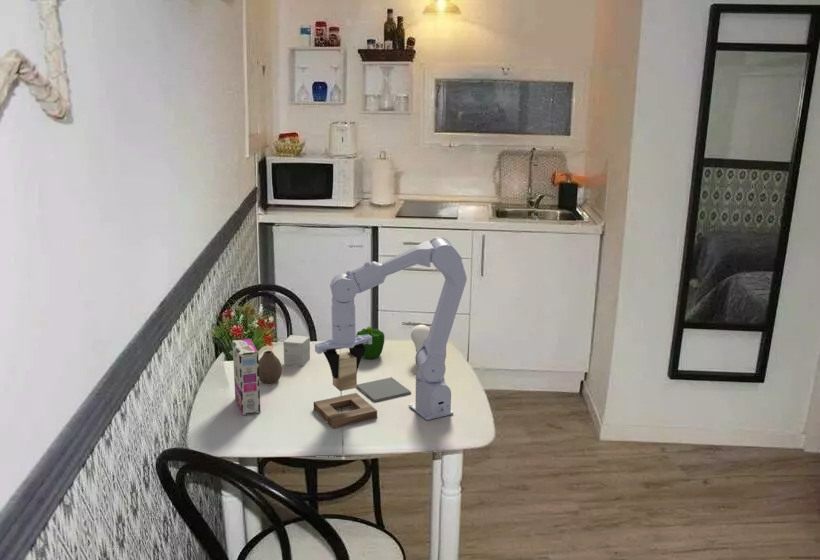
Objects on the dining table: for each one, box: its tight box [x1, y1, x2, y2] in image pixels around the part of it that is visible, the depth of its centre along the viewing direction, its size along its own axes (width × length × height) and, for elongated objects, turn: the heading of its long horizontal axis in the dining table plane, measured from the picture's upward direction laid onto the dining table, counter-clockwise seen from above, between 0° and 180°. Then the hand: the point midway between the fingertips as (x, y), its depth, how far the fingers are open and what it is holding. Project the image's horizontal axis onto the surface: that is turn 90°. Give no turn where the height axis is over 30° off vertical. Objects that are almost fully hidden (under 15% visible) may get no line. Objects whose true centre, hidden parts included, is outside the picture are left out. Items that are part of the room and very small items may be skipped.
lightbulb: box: [410, 324, 430, 353], centre depth 223 cm, size 6×6×11 cm
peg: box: [332, 351, 358, 392], centre depth 186 cm, size 4×4×8 cm
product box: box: [283, 334, 311, 367], centre depth 221 cm, size 6×6×7 cm
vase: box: [259, 350, 283, 386], centre depth 207 cm, size 7×7×9 cm
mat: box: [357, 377, 412, 403], centre depth 203 cm, size 11×11×1 cm
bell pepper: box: [356, 325, 385, 360], centre depth 226 cm, size 8×8×10 cm
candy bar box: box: [231, 338, 261, 416], centre depth 191 cm, size 11×5×16 cm, turn 22°
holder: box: [313, 392, 378, 429], centre depth 189 cm, size 12×12×2 cm
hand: (344, 375), depth 187 cm, fingers closed on peg, 4 cm apart
